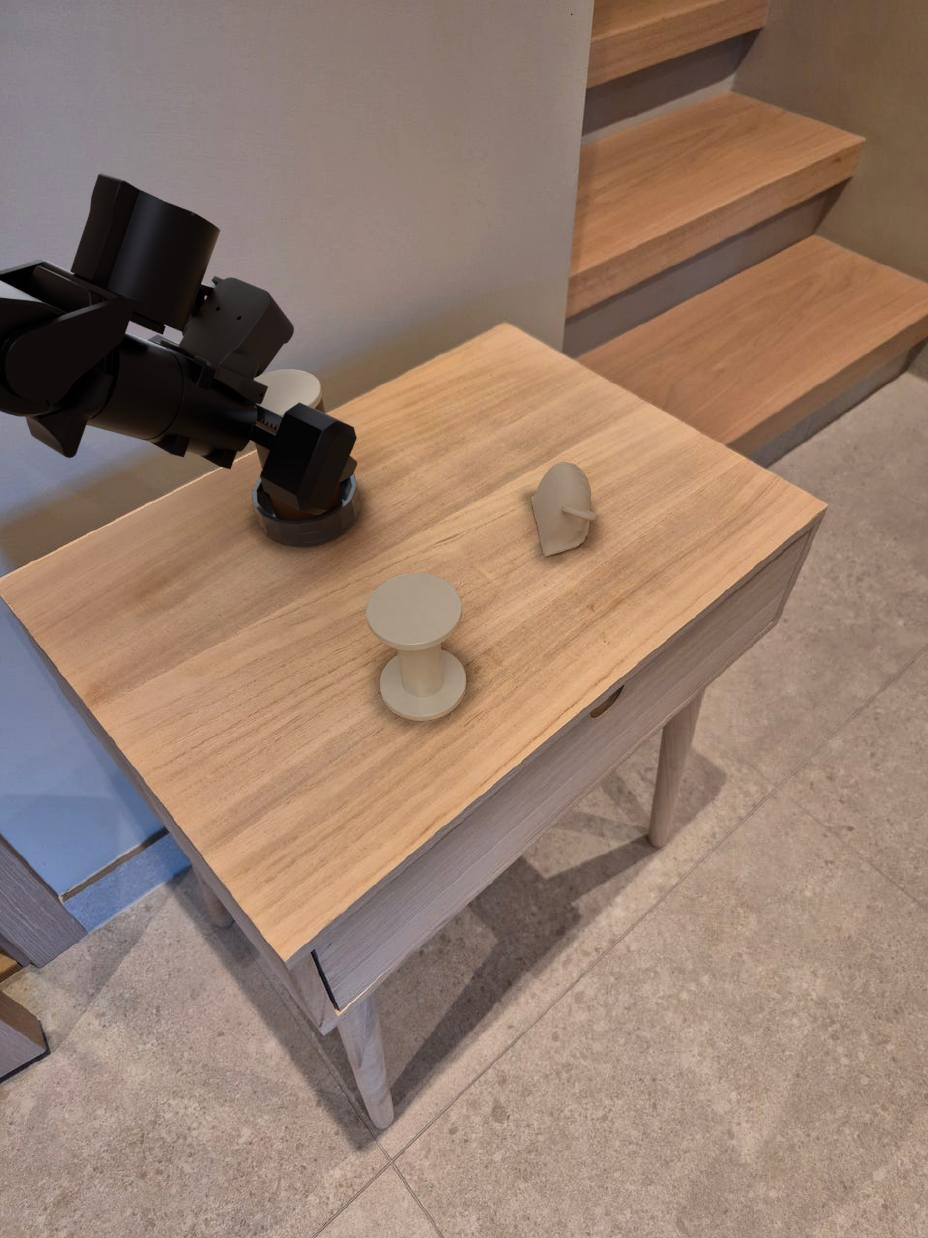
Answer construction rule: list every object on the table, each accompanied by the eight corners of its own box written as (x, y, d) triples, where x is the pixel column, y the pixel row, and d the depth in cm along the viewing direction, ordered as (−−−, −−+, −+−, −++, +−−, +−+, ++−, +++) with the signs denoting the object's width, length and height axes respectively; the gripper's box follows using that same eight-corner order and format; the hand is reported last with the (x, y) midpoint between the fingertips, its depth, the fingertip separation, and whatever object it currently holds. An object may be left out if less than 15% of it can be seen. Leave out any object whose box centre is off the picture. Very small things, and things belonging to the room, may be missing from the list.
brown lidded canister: (338, 531, 66) (314, 414, 58) (267, 531, 66) (233, 415, 58) (347, 484, 70) (326, 368, 61) (280, 484, 70) (250, 368, 62)
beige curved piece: (580, 493, 69) (585, 440, 65) (598, 567, 63) (605, 514, 59) (531, 497, 69) (532, 444, 65) (544, 571, 63) (547, 518, 59)
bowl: (316, 561, 65) (311, 538, 63) (238, 524, 68) (230, 500, 66) (380, 499, 69) (376, 476, 67) (303, 467, 72) (298, 443, 70)
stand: (435, 735, 54) (426, 659, 48) (363, 697, 56) (346, 619, 50) (482, 673, 57) (480, 594, 51) (413, 639, 59) (402, 559, 53)
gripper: (308, 309, 46) (446, 387, 59) (99, 223, 53) (264, 309, 67) (235, 499, 48) (385, 531, 62) (44, 389, 56) (215, 439, 69)
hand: (309, 445), depth 65 cm, fingers open, 9 cm apart
